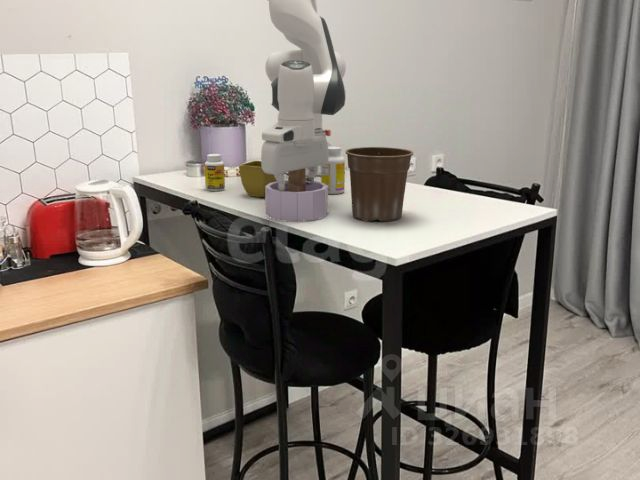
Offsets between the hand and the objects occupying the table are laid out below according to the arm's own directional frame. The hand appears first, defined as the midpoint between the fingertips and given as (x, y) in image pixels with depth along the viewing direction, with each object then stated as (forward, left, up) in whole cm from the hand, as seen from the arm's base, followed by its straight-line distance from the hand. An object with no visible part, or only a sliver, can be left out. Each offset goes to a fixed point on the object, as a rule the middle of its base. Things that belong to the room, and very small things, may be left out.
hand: (296, 187), depth 159 cm
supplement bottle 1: (-4, -37, -7) cm, 38 cm away
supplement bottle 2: (-25, -10, -7) cm, 28 cm away
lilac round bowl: (0, 0, -7) cm, 7 cm away
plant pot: (-12, +16, -7) cm, 21 cm away
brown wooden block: (0, 0, -6) cm, 6 cm away
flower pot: (-8, -22, -7) cm, 24 cm away
